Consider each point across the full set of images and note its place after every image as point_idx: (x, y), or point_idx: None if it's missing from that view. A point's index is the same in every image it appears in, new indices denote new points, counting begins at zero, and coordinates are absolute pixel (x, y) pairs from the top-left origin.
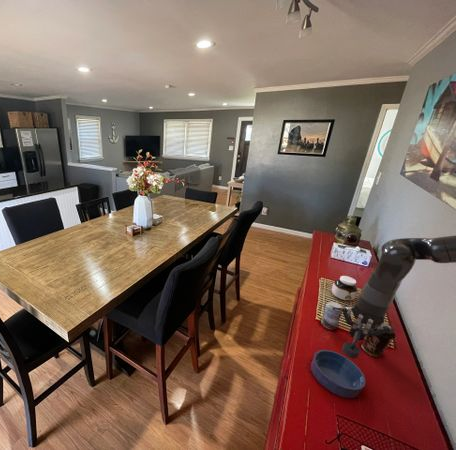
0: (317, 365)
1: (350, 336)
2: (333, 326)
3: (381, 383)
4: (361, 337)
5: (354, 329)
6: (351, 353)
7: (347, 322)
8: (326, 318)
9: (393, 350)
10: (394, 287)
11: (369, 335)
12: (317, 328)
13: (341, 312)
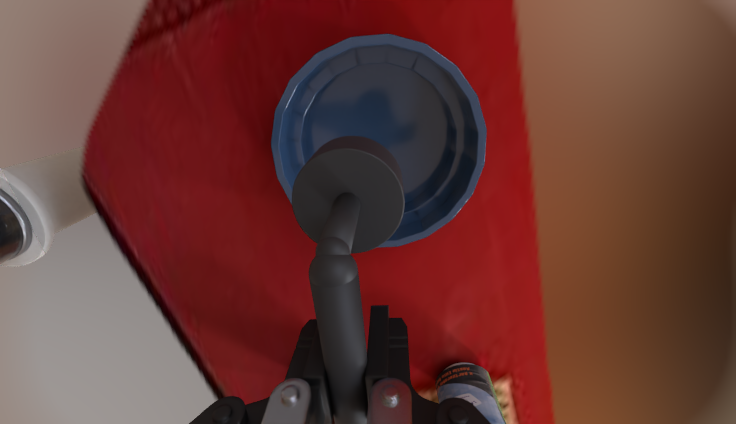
0: (459, 81)
1: (387, 305)
2: (449, 381)
3: (259, 250)
4: (315, 336)
5: (382, 377)
6: (334, 145)
7: (473, 421)
8: (487, 401)
9: None
10: None
11: (333, 415)
12: (490, 338)
13: None
